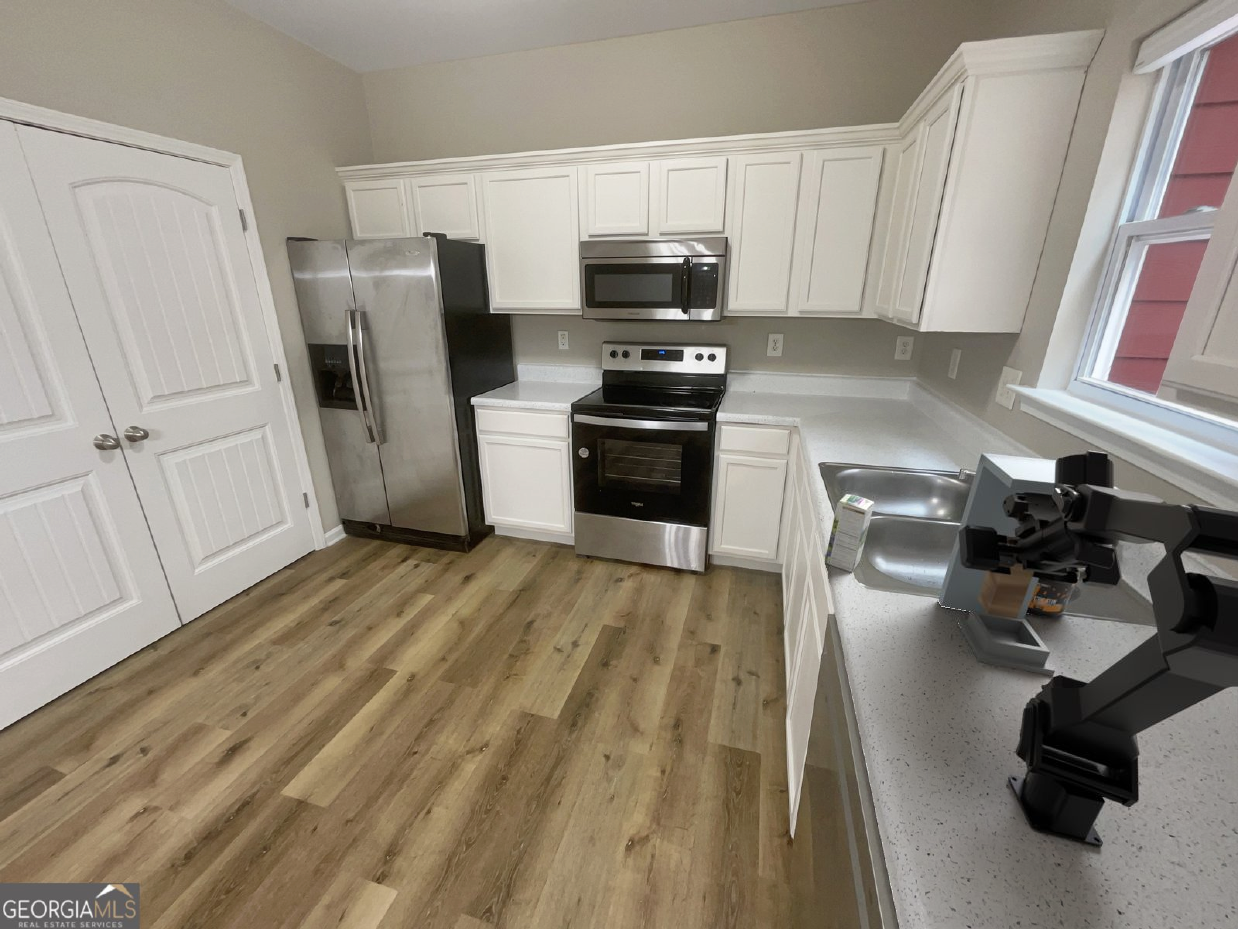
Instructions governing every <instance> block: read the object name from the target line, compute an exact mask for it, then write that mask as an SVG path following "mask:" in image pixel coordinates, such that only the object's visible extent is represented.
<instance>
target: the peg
mask: <svg viewBox="0 0 1238 929" xmlns="http://www.w3.org/2000/svg"><path fill="white" fill-rule="evenodd" d="M1009 539H1012V540H1019V538H1016V537H1008V536H1007V544H1008V540H1009ZM1010 571H1011V575H1007V574H1000V573H993V572H989V571H987V573H986V576H985V579H984V582H983V585H982V588H981V591H980V594H979V597H978V601H979V602H980V604H981V605H982V606H983V608H984V609H985V611H986V612H987V614H990V615H996V616H1002V617H1009V618H1015V619H1017V617H1018V614H1019V612H1020V609H1021V606H1022V603H1023V601H1024V598H1025V595H1026V592H1027V590H1028V587H1029V584H1030V582H1031V579H1032V576H1033V573H1034V571H1027V570H1023V565H1022V564H1015V565H1014V566H1013V567H1010Z"/></svg>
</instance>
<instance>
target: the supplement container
mask: <svg viewBox="0 0 1238 929" xmlns="http://www.w3.org/2000/svg"><path fill="white" fill-rule="evenodd" d="M1080 574H1081V573H1080V571H1079V572H1078V573H1077V578H1078V580H1079V579H1080ZM1076 584H1077V583H1075V584H1070V583H1063V582H1056V581H1050V580H1045V579H1041V578H1039V580H1038V583H1037V585H1036V588H1035V591H1034V593H1033V596H1032V599H1031V601H1030V604H1029V607H1028V609H1027V612H1026V614H1027V613H1029V614H1028V615H1030V614H1032V615H1031V616H1034V615H1035V616H1034V617H1038V616H1040V618H1056V617H1060V616H1062V615H1063V614H1064V613H1065V612H1066V610H1067V606H1068V602H1069V600H1070V598H1071V595H1072V593H1073V591H1074V589H1075V586H1076Z"/></svg>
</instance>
